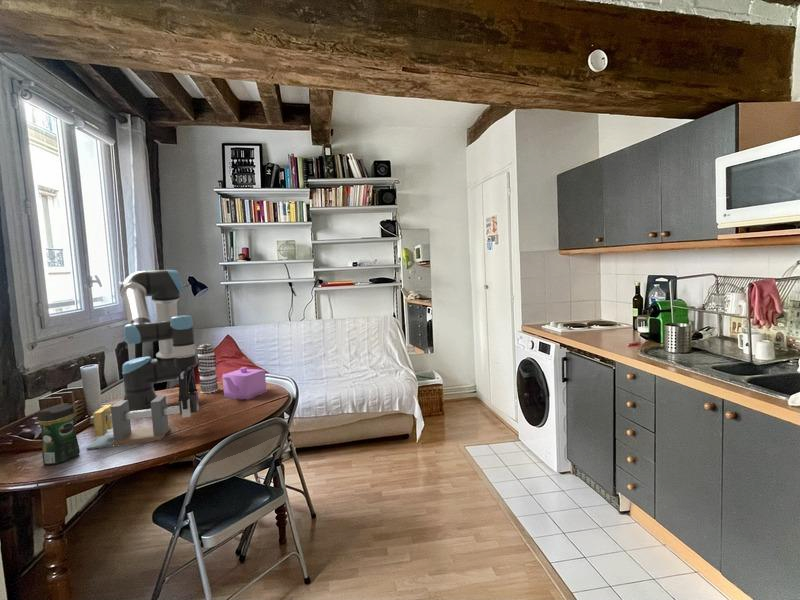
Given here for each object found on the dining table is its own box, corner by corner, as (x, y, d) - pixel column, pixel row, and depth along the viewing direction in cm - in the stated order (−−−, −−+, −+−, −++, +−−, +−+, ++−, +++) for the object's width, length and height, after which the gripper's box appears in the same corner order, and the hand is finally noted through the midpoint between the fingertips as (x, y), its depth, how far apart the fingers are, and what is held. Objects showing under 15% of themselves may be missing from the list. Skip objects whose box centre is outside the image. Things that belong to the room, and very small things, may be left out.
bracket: (124, 434, 164) (121, 399, 163) (170, 428, 168) (167, 394, 167) (112, 446, 153) (108, 408, 152) (161, 439, 157) (157, 402, 156)
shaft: (94, 422, 158) (92, 403, 157) (199, 409, 167) (197, 391, 166) (89, 425, 154) (87, 406, 154) (197, 412, 163) (195, 394, 162)
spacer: (107, 426, 162) (105, 405, 161) (114, 425, 162) (112, 404, 162) (95, 436, 152) (93, 413, 151) (103, 435, 152) (100, 412, 152)
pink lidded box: (212, 402, 202) (210, 373, 202) (250, 388, 225) (248, 362, 224) (236, 404, 196) (234, 375, 196) (273, 389, 219) (271, 363, 218)
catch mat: (101, 437, 162) (101, 435, 162) (125, 434, 164) (125, 432, 164) (86, 450, 151) (86, 448, 151) (112, 446, 153) (112, 444, 153)
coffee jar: (66, 452, 149) (61, 401, 148) (84, 453, 147) (78, 401, 146) (37, 465, 140) (31, 410, 139) (55, 466, 138) (49, 410, 137)
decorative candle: (207, 394, 216) (202, 346, 215) (196, 393, 221) (191, 345, 219) (222, 390, 224) (218, 343, 223) (211, 388, 229) (207, 342, 227)
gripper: (188, 360, 153) (194, 420, 154) (201, 350, 174) (205, 403, 176) (165, 362, 151) (171, 423, 152) (181, 351, 173) (186, 405, 174)
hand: (189, 412), depth 164 cm, fingers open, 10 cm apart
